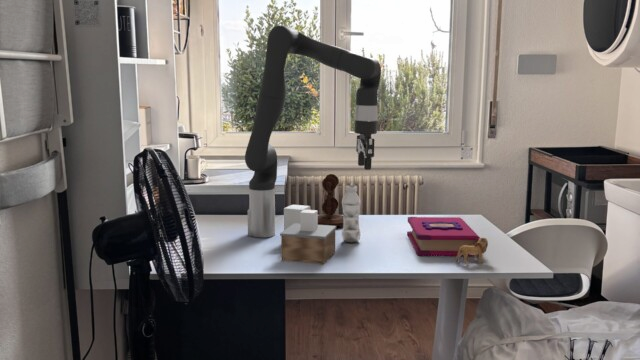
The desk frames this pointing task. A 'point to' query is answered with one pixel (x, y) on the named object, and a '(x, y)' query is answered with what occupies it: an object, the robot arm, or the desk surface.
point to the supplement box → (293, 214)
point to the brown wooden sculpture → (330, 203)
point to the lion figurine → (473, 250)
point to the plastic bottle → (351, 215)
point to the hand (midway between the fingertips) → (364, 167)
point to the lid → (308, 227)
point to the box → (307, 249)
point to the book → (440, 235)
